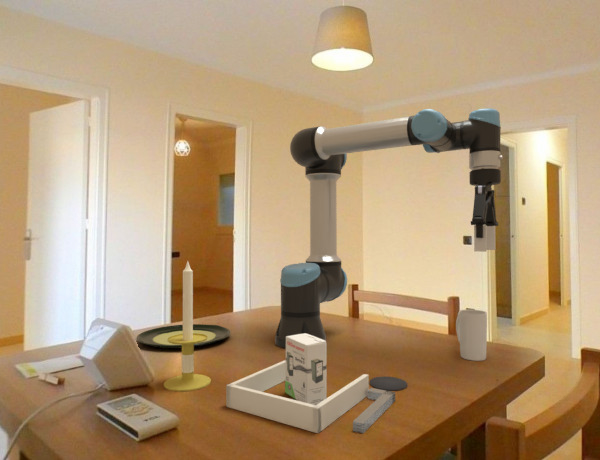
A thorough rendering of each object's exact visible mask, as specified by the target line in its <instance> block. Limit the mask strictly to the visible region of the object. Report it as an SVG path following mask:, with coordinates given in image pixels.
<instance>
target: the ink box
mask: <svg viewBox="0 0 600 460" xmlns="http://www.w3.org/2000/svg"><path fill="white" fill-rule="evenodd" d="M327 347H328V346H327V340H326V341H325V340H323V339H320V338H318V337H315V336H312V335H309V334H307V333H304V334H297V335H291V336H286V348H285V359H284V360H285V381H284V383H285V384H284V393H285V394H286V395H288V396H290V397H292V399H293V400H297V401H301V402H305V403H309V404H313V405H317V404H319V403H320V402H322V401H323V400H325V399H326V398H328V397H327V395H328V394H327V391H328V390H327V377H328V376H327V366H328V365H327V363H328V362H327V360H328V359H327V357H328V356H327V354H328V353H327V349H328V348H327Z"/></svg>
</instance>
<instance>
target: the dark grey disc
mask: <svg viewBox="0 0 600 460" xmlns="http://www.w3.org/2000/svg"><path fill="white" fill-rule="evenodd" d="M369 386H371V388H375V389H380V390H385V391H391V392H395V391H397V392H398V391H403V390H405V389H407V388H408V382H407V381H406V380H404V379H402V378H399V377H394V376H376V377H373V378H371V379H370V380H369Z"/></svg>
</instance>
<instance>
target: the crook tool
mask: <svg viewBox="0 0 600 460" xmlns="http://www.w3.org/2000/svg"><path fill="white" fill-rule="evenodd" d="M367 399H368V400H371V401H374V402H372V403H371V404H370V405H369V406H368V407H366V409H365V410H363V411H362V412H361V413H360V414H359V415H358V416H357V417H356V418H355V419H354V420H352V431H353V432H355V433H359V434H365V432H367V430H368V429H370V427H371V426H372V425H373V424H374V423H375V422H376V421H377V420H378V419H379V418H380V417H381V416H382V415H383V414H384V413H385V412H386V411H387V410H388V409H389V408H390V407H391V406H392V405H393V404H394V402H396V392H395V391H386V390H380V389H377V388H374V387H369V390H368V396H367Z"/></svg>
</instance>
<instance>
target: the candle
mask: <svg viewBox="0 0 600 460" xmlns="http://www.w3.org/2000/svg"><path fill="white" fill-rule="evenodd" d="M193 273H194V270H192V269H191V265H190V262H189V261H187V262H186V264H185V268H184V269H183V270H182V325H183V334H179V335H174V336H171V337H169V338H168V339H167V340H168V342H169V343H172V344H180V345H182V348H181V374H180V375H176V376H173V377H170V378H168V379H166V380H165V381H164V383H163V387H164V388H165V389H166V390H169V391H172V392H173V391H174V392H190V391H196V390H200V389H204V388H206V387H207V386H209V385H211V382H212V379H211V378H210V377H209V376H207V375H205V374H199V373H195V372H194V370H195V369H194V367H195V362H194V360H195V359H194V358H195V357H194V354H195V353H194V349H195V347H194V344H196V343H200V342H203V341H205V340H207V338H208V336H206V335H204V334H198V333H193V324H194V323H193V321H194V307H193V306H194V296H193V295H194V287H193V286H194V280H193V279H194V274H193Z"/></svg>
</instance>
